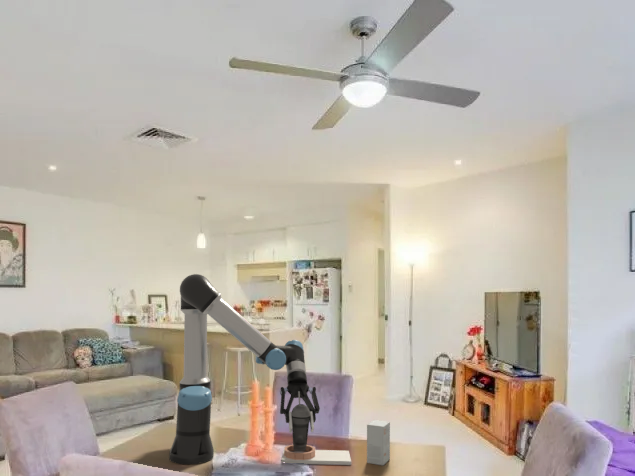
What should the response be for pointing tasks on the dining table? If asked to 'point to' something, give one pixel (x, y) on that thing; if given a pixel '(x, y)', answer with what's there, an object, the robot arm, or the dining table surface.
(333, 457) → the pale grey board
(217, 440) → the dining table surface
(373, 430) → the small box
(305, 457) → the terracotta ring holder
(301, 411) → the beverage cup
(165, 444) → the dining table surface
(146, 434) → the dining table surface
